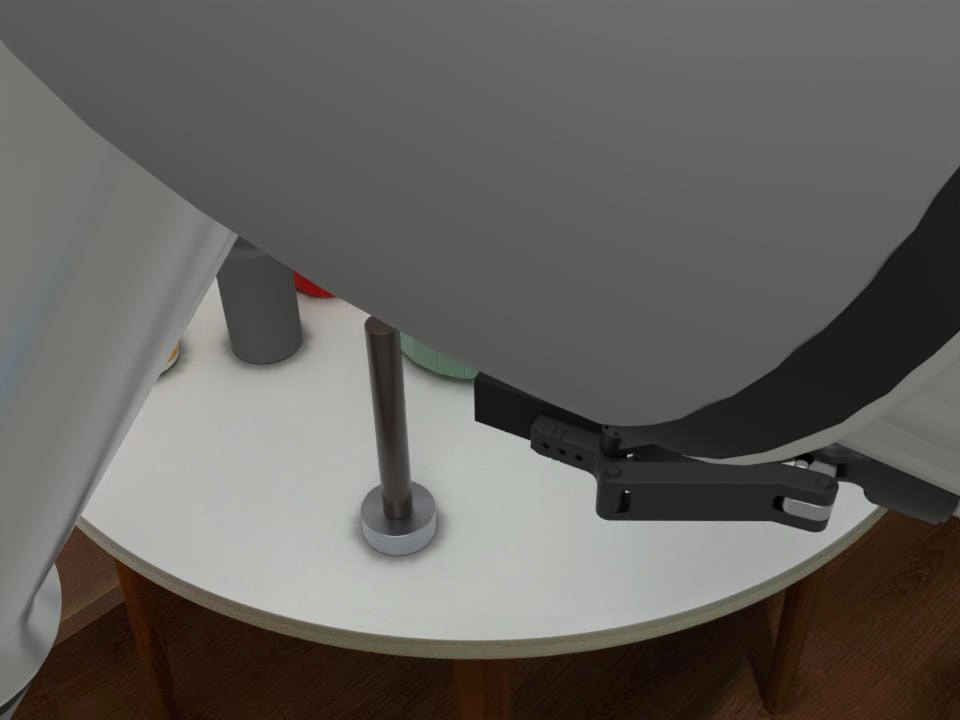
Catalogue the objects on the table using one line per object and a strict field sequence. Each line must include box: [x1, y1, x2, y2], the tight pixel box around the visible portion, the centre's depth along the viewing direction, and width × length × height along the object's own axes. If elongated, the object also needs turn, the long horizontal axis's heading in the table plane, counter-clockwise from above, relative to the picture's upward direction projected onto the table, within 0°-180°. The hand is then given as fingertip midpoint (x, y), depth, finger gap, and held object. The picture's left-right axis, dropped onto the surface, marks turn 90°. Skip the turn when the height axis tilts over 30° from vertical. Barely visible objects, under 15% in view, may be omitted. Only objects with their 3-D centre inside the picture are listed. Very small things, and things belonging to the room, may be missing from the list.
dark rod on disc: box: [360, 315, 437, 557], centre depth 66 cm, size 5×5×18 cm
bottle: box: [215, 236, 303, 365], centre depth 82 cm, size 6×6×15 cm
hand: (538, 313), depth 54 cm, fingers open, 13 cm apart
